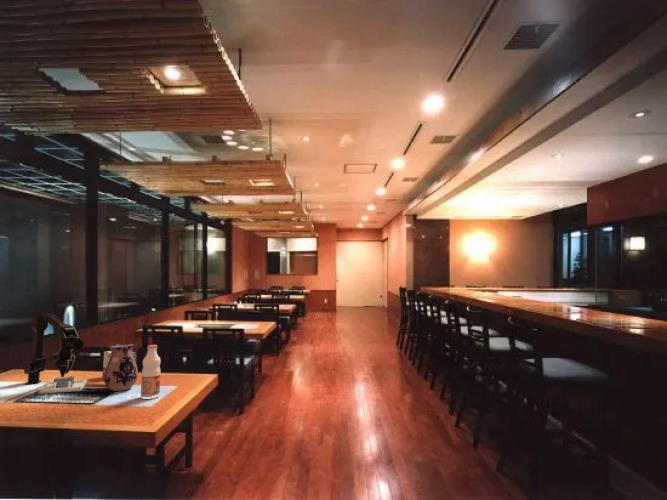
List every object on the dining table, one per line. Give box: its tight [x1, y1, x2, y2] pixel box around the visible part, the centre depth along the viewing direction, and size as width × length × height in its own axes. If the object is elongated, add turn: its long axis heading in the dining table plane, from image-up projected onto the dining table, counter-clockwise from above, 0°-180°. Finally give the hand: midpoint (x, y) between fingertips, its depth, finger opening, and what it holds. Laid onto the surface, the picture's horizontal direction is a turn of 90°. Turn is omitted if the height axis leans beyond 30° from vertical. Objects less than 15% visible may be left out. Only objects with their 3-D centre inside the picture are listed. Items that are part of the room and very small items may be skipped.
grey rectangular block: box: [53, 375, 75, 388], centre depth 231 cm, size 5×9×5 cm, turn 110°
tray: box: [37, 379, 88, 395], centre depth 231 cm, size 17×20×4 cm
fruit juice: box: [140, 344, 162, 398], centre depth 219 cm, size 9×9×28 cm
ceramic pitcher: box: [103, 343, 139, 392], centre depth 234 cm, size 18×21×25 cm
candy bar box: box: [102, 350, 111, 378], centre depth 257 cm, size 11×5×16 cm, turn 68°
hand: (64, 375), depth 232 cm, fingers open, 9 cm apart
